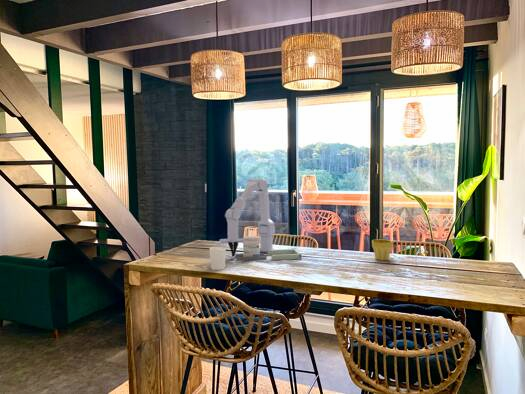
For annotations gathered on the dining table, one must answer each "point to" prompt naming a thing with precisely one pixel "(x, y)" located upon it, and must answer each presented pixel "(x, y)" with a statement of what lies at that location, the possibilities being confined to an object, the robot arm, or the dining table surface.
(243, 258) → the printer bay
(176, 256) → the dining table surface
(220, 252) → the white cup
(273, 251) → the tray
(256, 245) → the ink box
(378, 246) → the plant pot
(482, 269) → the dining table surface
